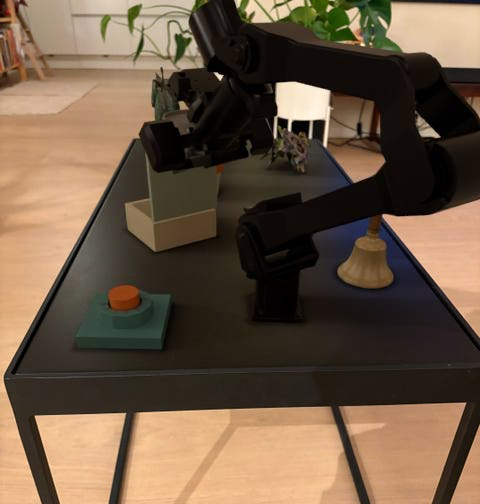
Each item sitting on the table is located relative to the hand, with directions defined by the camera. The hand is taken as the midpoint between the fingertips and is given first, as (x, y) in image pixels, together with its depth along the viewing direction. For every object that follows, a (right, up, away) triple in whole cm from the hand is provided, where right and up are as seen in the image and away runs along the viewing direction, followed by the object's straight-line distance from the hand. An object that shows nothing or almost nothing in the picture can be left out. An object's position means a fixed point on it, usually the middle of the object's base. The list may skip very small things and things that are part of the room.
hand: (189, 168), depth 77 cm
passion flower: (+18, +12, +42) cm, 47 cm away
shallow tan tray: (-4, -8, +12) cm, 15 cm away
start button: (-7, -21, -13) cm, 26 cm away
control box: (-7, -23, -12) cm, 27 cm away
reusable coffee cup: (-1, +3, +29) cm, 29 cm away
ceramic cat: (-9, +16, +47) cm, 51 cm away
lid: (-1, -1, +3) cm, 3 cm away
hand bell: (+26, -16, +1) cm, 31 cm away
